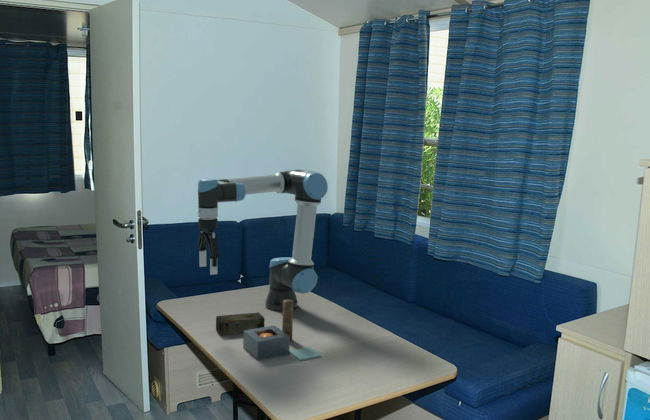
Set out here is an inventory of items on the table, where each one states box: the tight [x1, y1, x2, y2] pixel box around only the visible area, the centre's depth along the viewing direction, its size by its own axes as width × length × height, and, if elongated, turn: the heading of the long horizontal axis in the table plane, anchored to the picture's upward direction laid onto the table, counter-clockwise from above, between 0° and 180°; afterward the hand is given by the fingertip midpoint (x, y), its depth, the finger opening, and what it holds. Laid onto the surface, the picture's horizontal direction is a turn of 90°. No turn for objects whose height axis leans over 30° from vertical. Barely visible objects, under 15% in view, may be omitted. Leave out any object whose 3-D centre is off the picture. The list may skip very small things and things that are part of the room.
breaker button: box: [260, 333, 273, 338], centre depth 225 cm, size 5×5×5 cm
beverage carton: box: [215, 311, 265, 336], centre depth 247 cm, size 8×19×7 cm, turn 114°
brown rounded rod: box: [281, 299, 294, 342], centre depth 237 cm, size 4×4×16 cm
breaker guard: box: [242, 325, 291, 361], centre depth 225 cm, size 13×13×7 cm
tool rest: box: [289, 346, 322, 362], centre depth 223 cm, size 9×9×1 cm
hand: (208, 270), depth 239 cm, fingers open, 13 cm apart
